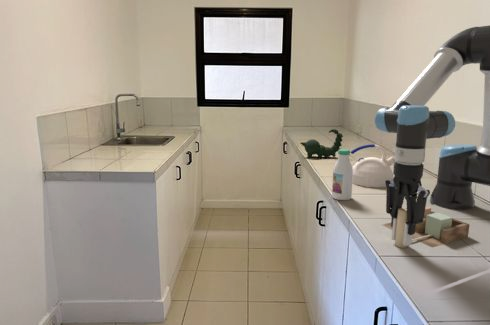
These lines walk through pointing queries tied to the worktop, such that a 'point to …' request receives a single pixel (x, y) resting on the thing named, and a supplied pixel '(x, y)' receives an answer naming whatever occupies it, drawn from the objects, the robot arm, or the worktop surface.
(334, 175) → the milk bottle
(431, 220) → the green headed mallet
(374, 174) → the kettle
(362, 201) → the worktop surface
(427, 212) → the terracotta block
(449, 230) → the lane shelf
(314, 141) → the toy figurine
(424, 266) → the worktop surface
